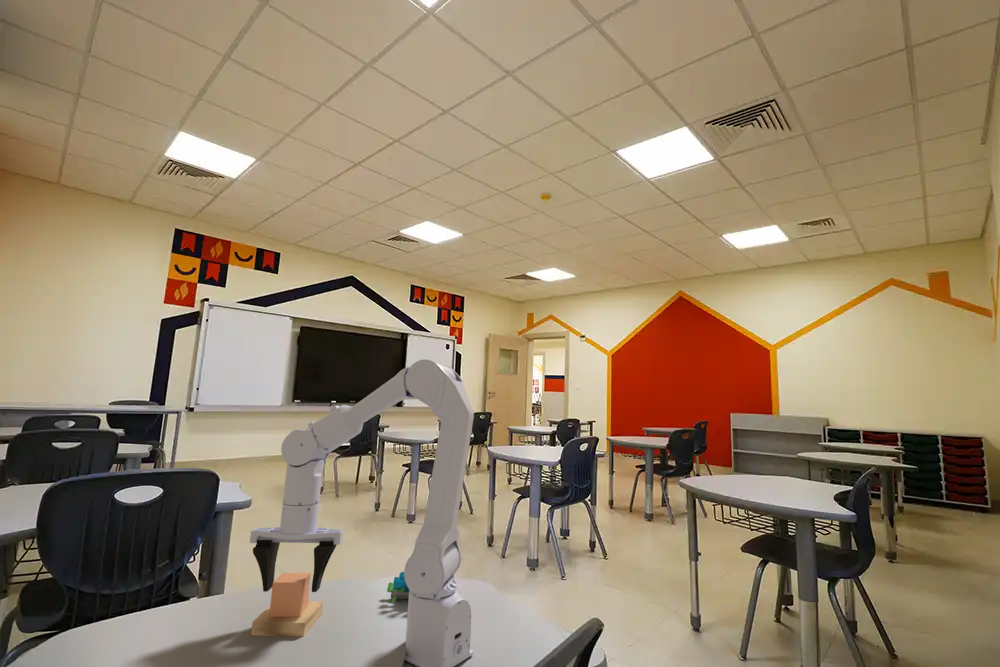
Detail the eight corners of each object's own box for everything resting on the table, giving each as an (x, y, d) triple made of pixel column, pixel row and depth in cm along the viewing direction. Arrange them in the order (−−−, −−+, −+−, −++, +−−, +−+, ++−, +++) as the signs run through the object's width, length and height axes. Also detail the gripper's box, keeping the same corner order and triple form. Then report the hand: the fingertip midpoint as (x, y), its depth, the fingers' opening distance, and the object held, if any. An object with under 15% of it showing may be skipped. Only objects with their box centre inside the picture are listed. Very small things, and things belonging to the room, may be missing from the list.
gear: (452, 592, 89) (439, 564, 83) (448, 625, 84) (434, 598, 78) (398, 595, 90) (381, 568, 85) (391, 628, 85) (373, 601, 80)
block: (307, 604, 77) (310, 572, 78) (298, 616, 72) (301, 582, 73) (279, 605, 76) (283, 572, 77) (269, 616, 72) (272, 582, 73)
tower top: (321, 614, 78) (323, 601, 78) (303, 637, 70) (305, 623, 70) (274, 613, 78) (276, 600, 78) (250, 635, 70) (252, 621, 70)
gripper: (350, 499, 82) (343, 581, 79) (267, 497, 81) (257, 580, 78) (339, 507, 75) (331, 597, 72) (248, 505, 74) (237, 596, 71)
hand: (291, 589), depth 75 cm, fingers open, 7 cm apart
